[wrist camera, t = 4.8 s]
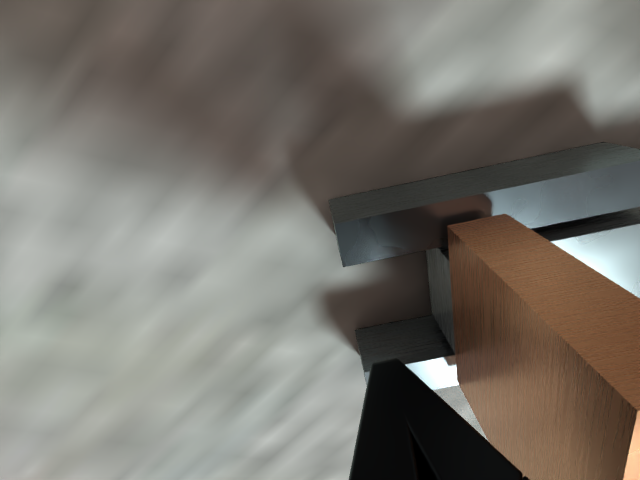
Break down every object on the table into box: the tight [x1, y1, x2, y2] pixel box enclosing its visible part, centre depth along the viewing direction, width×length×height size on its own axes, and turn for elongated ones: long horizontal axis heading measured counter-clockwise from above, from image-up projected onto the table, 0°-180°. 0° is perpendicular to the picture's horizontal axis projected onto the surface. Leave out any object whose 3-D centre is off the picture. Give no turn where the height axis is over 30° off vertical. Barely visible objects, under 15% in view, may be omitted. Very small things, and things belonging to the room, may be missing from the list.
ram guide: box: [329, 142, 640, 390], centre depth 11 cm, size 8×6×2 cm
